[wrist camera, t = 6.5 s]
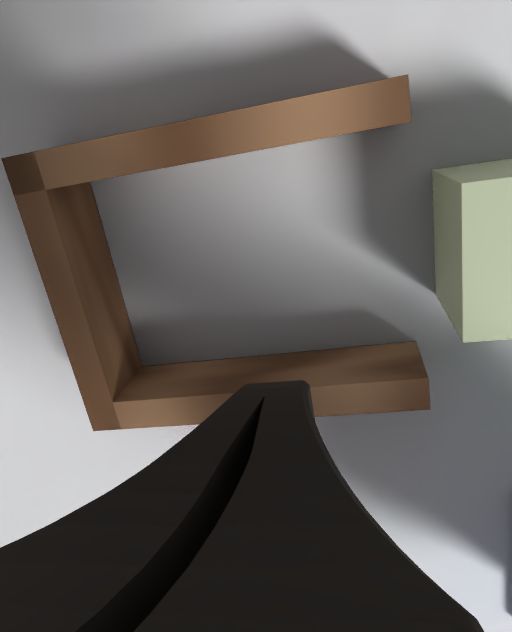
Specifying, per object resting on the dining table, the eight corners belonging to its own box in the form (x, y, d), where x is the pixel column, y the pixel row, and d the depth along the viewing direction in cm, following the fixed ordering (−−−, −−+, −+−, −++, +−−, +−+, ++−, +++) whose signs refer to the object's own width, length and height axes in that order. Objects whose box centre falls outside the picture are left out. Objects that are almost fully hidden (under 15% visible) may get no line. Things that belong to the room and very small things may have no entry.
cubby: (396, 83, 16) (407, 74, 13) (417, 368, 19) (430, 409, 16) (52, 153, 19) (1, 158, 16) (124, 392, 22) (93, 431, 19)
